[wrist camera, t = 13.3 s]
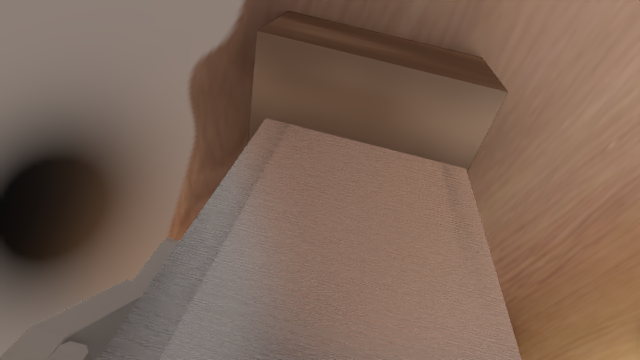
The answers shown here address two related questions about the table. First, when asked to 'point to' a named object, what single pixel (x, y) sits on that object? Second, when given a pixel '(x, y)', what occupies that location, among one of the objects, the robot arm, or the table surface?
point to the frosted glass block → (326, 263)
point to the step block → (373, 89)
